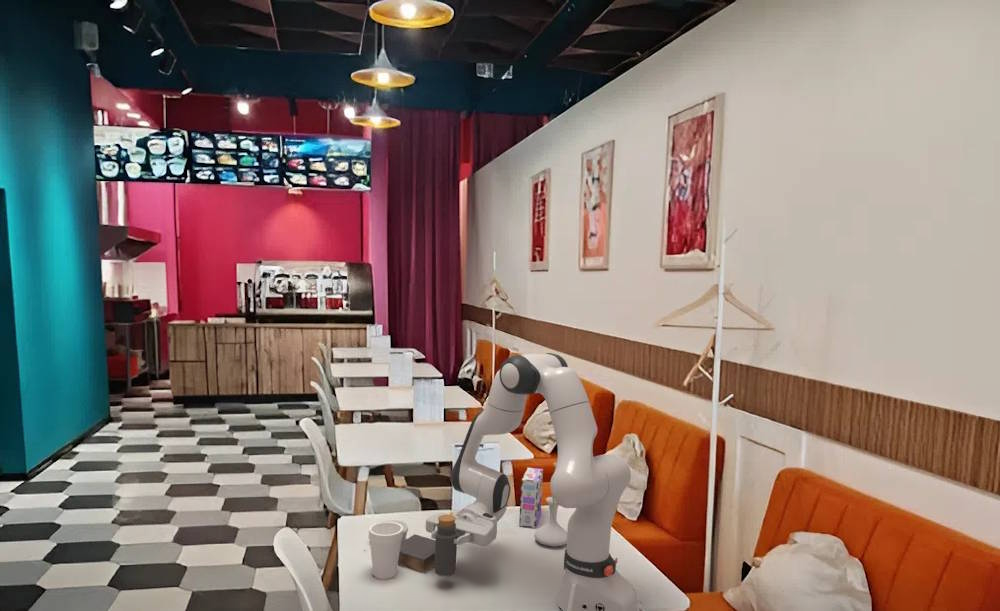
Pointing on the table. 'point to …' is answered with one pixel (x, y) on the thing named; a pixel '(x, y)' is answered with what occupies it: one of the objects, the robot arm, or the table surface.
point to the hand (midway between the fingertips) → (444, 539)
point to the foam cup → (385, 548)
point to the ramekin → (404, 525)
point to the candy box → (531, 497)
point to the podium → (417, 553)
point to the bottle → (445, 546)
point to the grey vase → (551, 527)
